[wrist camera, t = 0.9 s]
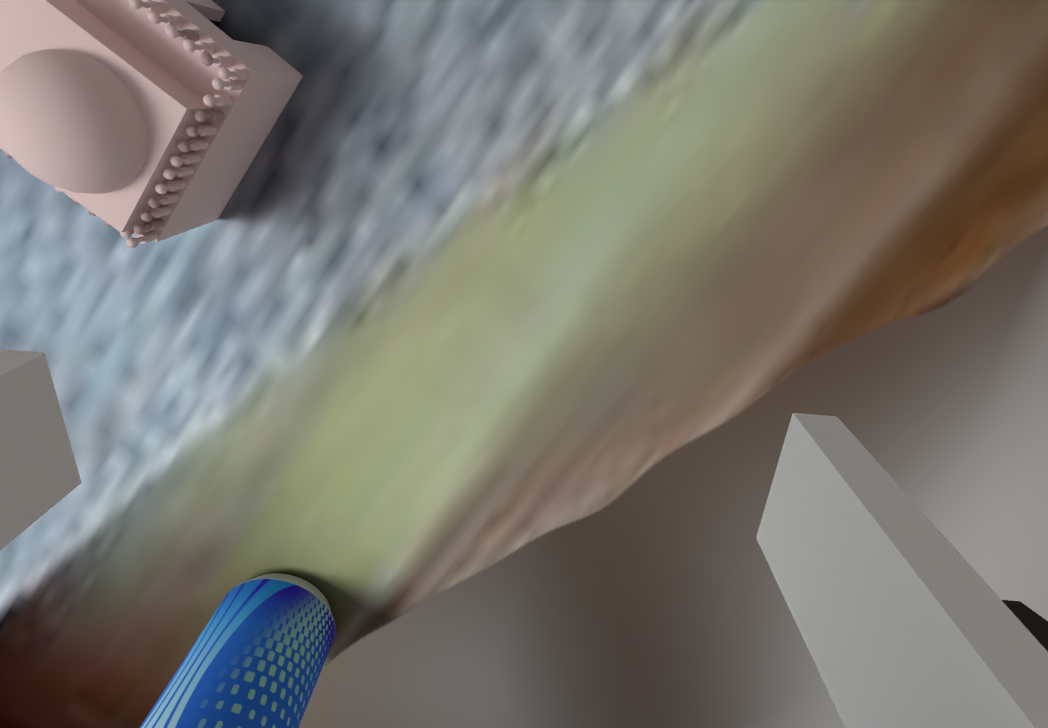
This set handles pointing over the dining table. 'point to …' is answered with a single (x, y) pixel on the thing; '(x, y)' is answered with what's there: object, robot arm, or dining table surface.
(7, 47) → the model house
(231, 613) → the beer can
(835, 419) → the robot arm
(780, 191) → the dining table surface
